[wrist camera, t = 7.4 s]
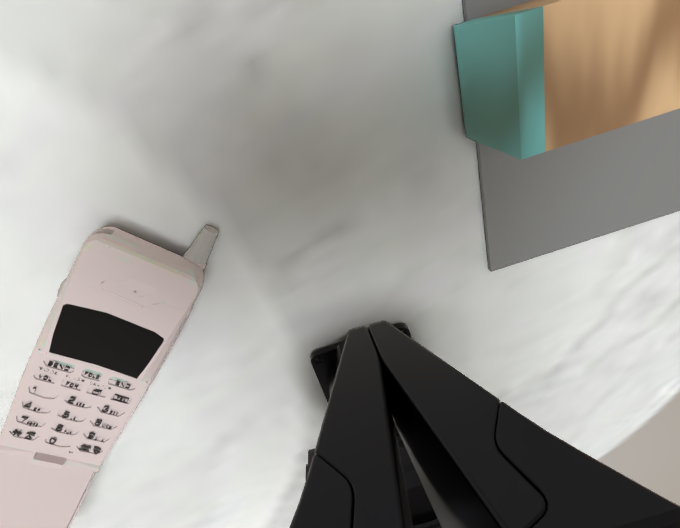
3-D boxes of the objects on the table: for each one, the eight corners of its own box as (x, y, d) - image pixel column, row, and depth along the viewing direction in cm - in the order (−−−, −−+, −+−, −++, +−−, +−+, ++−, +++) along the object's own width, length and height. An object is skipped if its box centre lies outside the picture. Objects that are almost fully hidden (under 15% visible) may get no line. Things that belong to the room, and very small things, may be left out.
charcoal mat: (687, 204, 24) (692, 206, 24) (488, 269, 24) (491, 271, 24) (776, -281, 15) (785, -287, 14) (445, -178, 15) (448, -182, 14)
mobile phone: (-89, 595, 21) (57, 224, 13) (-21, 490, 27) (114, 176, 19) (35, 605, 24) (222, 293, 16) (76, 506, 29) (233, 233, 21)
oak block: (466, 136, 20) (652, 76, 20) (521, 159, 16) (760, 82, 16) (453, 25, 17) (666, -43, 18) (514, 15, 13) (798, -77, 13)
